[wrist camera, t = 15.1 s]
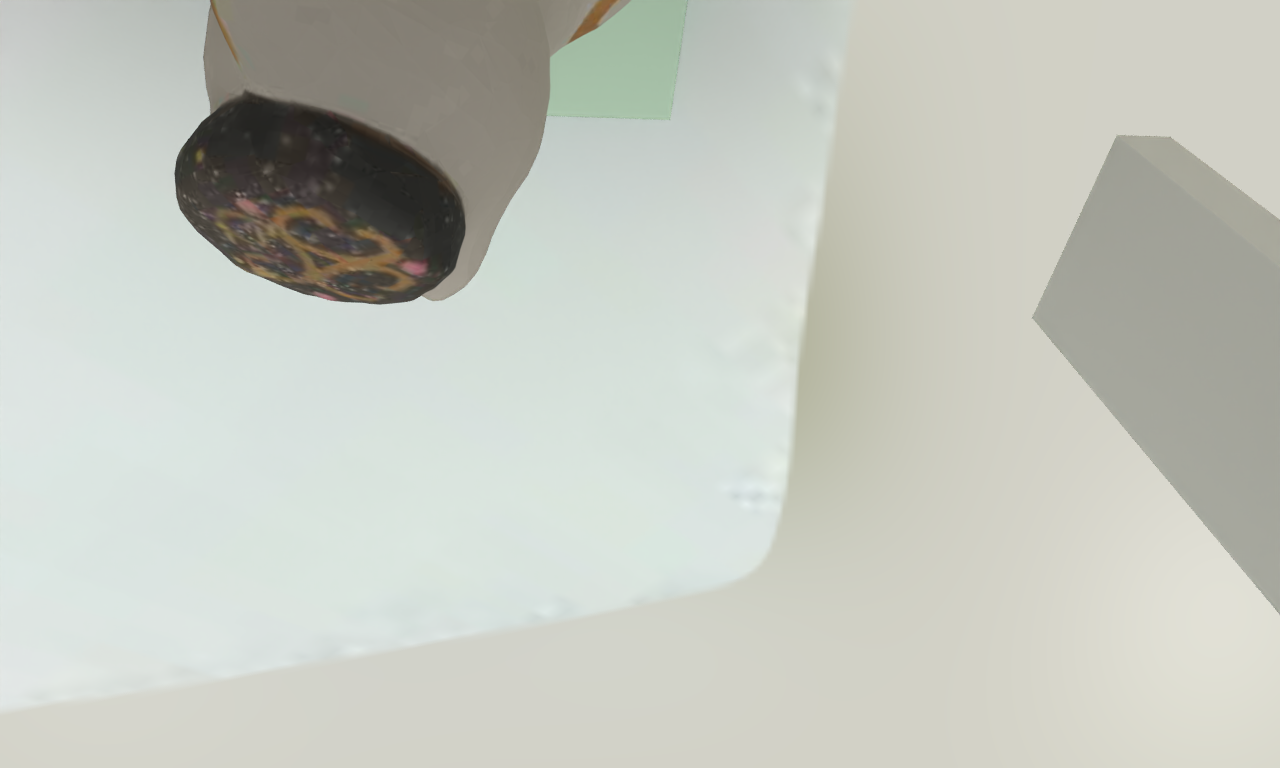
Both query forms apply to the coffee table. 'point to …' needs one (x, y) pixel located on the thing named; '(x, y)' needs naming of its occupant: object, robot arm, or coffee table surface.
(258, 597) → the coffee table surface
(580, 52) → the pad
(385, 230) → the figurine
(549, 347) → the coffee table surface
